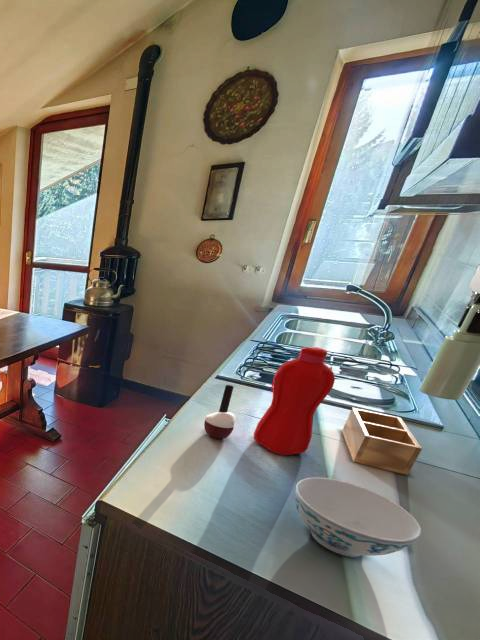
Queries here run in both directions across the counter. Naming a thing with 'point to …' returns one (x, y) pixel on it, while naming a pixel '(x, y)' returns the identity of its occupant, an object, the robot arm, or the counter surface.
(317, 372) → the red plastic tall container
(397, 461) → the box
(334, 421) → the counter surface
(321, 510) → the chinaware
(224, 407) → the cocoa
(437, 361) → the bottle
